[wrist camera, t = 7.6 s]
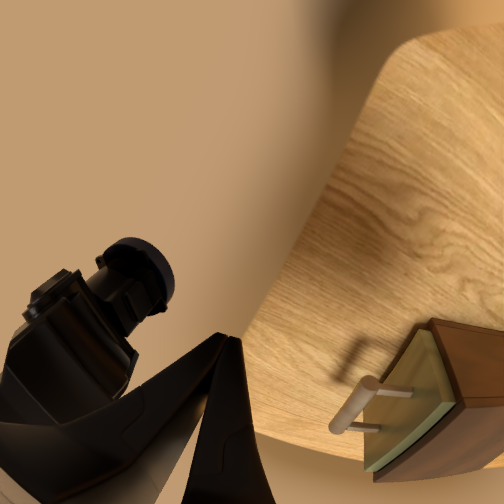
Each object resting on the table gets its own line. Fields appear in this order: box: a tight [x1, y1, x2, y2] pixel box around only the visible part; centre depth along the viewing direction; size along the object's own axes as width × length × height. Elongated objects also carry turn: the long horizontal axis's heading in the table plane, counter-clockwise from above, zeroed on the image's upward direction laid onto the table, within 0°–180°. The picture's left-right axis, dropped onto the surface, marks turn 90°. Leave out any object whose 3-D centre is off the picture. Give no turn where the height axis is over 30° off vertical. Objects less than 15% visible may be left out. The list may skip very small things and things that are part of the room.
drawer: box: [328, 329, 456, 472], centre depth 16 cm, size 17×10×7 cm, turn 81°
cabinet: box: [373, 318, 504, 483], centre depth 16 cm, size 14×12×9 cm
